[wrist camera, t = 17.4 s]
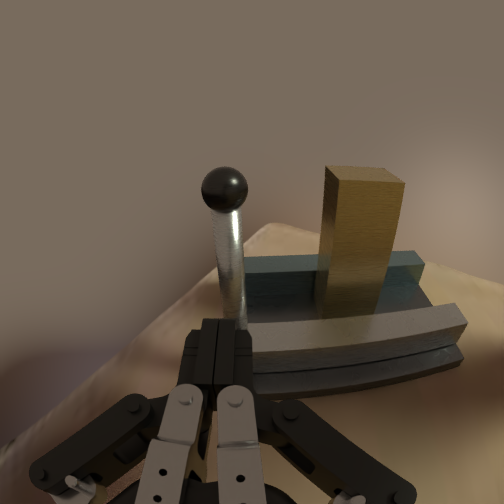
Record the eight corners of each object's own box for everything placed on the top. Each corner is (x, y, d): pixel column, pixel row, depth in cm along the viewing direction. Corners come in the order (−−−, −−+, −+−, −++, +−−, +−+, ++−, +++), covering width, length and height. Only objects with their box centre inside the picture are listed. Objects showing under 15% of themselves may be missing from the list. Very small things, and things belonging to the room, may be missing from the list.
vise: (458, 365, 20) (477, 337, 18) (232, 401, 21) (227, 374, 18) (403, 273, 34) (410, 246, 32) (237, 282, 34) (235, 252, 32)
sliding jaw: (458, 346, 21) (523, 192, 13) (225, 378, 21) (195, 175, 13) (444, 322, 24) (496, 175, 16) (227, 345, 24) (205, 158, 16)
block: (372, 318, 26) (405, 183, 19) (320, 323, 26) (339, 179, 19) (361, 293, 29) (383, 168, 22) (313, 296, 30) (325, 165, 22)
